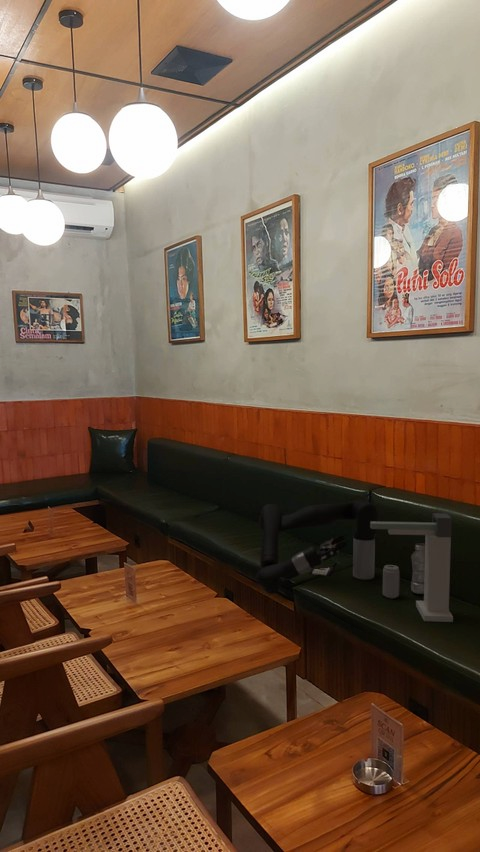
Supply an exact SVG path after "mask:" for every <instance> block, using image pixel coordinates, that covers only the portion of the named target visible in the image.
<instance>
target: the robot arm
mask: <svg viewBox="0 0 480 852" xmlns="http://www.w3.org/2000/svg"><path fill="white" fill-rule="evenodd" d="M378 515H379V514H378V510H377V507H376V505H374V503H373V504H372V503H371V502H369V501H367V500H363V499H359V500H353V501H348V502H343V503H325V504H324V503H322V504H320V503H319V504H311V505H306V506H304V507H302V508H300V509H298V510H297V511H295V512H293V513H289V514H286V515H283V511H282V509H281V507H280V506H279V505H278V504H275V503H267V504H264V506H262V508H261V511H260V515H259V519H258V528H259V529H260V530H261V531H263V532H262V540H261V546H260V547H261V548H260V558H259V559H260V561H259V562H260V563H259V564H260V567H261V569H259V570H258V571H257V573H256V576H255V580H256V582H257V583H258V585H259V586H260V587H261V589H263V590H264V591H265V592H266V594H269V595H274V594H276V593H278V591H279V590H280V589H281V584H282V578H283V579H285V580H287V581H291V580H293V579H295V578H297V577H299V576H300V575H303V574H306V573H309V572H310V571H311V569H313V568H315V567H317V566H319V565H321V564H322V561H328V560H329V559H331V558H333V557H335V556H337V555H338V553H339V551H341V550H343V549H344V548H346V547H348V544H347V542H346V541H345V539H346V537H345V536H344V534H339V535H337V536H336V537H333V538H332V537H329V538H328V539H326V540H324V541H322V542H320V543H318V544H317V546H318V547H317V548H315V546H314V545H310V546H308V547H306V548H305V549H303V550H301V551H300V552H297V553H296V554H294V555H293V556H292V557H290V558H288V559H286V560H284V561H282V562H279V533H280V532H284V531H288V530H295V529H304V528H315V527H323V526H329V525H332V524H334V523H337V522H339V521H344V520H345V521H346V520H348V521H349V520H351V521H352V520H353V521H355V520H356V522H357V523H356V529H355V530H354V531H353V533H352V538H353V541H352V542H353V547H352V551H353V553H352V577H354V578H355V579H358V580H365V581H366V580H372V579H374V578H375V564H376V562H375V555H376V552H375V551H376V550H375V549H376V534H377V530H378V529H371V527H370V521H372V522H378V521H379V520H378V519H379V518H378Z"/></svg>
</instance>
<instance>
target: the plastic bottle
mask: <svg viewBox="0 0 480 852" xmlns="http://www.w3.org/2000/svg"><path fill="white" fill-rule="evenodd" d="M414 545H415V547H414V549H415V551H414V552H413V553H412V554H411V558H410V559H411V565H412V577H411V583H410V589H411V591H412V592H413V593H415V594H416V595H424V577H425V543H415V544H414Z"/></svg>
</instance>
